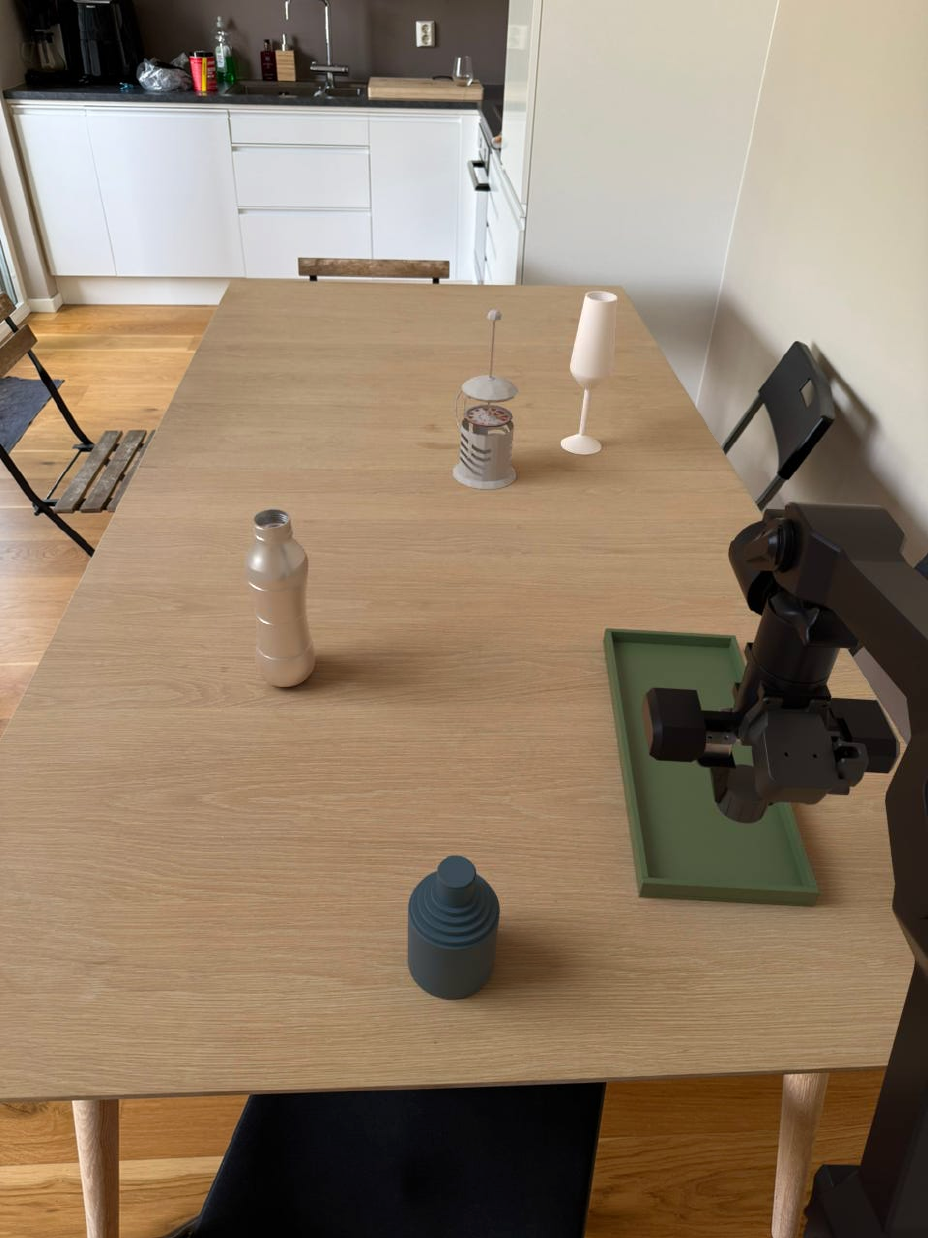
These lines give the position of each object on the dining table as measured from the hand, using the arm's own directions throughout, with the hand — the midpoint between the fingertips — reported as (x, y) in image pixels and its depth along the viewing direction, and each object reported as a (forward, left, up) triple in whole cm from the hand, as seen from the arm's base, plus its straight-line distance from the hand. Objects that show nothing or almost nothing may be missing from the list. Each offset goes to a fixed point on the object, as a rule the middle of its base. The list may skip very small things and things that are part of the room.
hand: (741, 800), depth 74 cm
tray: (+13, -5, -9) cm, 17 cm away
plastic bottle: (+37, +32, -9) cm, 50 cm away
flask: (-1, +26, -9) cm, 27 cm away
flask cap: (0, 0, +2) cm, 2 cm away
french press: (+75, -5, -9) cm, 76 cm away
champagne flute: (+79, -24, -9) cm, 83 cm away
